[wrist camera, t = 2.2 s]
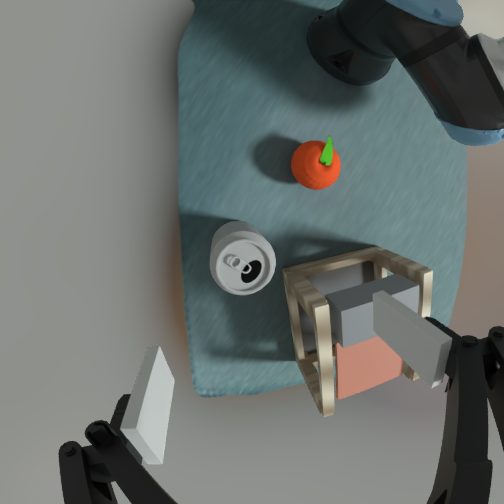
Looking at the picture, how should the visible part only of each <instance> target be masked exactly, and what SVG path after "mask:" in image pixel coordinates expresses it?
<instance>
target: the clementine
mask: <svg viewBox="0 0 504 504" xmlns="http://www.w3.org/2000/svg"><path fill="white" fill-rule="evenodd" d="M340 168H341V165H340V159H339V156H338V154H337V152H336V151H335V150H334V149H333V143H332V139H331V137H330V136H328V140H327V143H325V142H322V141H308V142H305V143H303V144H302V145H300V146H299V147H298V148H297V149H296V150H295V152H294V154H293V156H292V160H291V170H292V172H293V175H294V177H295V178H296V180H297V181H298V182H299V183H300V184H301V185H303V186H305V187H307V188H310V189H314V190H317V189H323V188H326V187H329V186H330V185H332V184H333V183H334V182H335V181H336V179H337V177H338V175H339V173H340Z"/></svg>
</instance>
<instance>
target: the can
mask: <svg viewBox="0 0 504 504" xmlns="http://www.w3.org/2000/svg"><path fill="white" fill-rule="evenodd" d="M209 265H210V271H211V275H212V277H213V279H214V280H215V282H216V284H218V285H219V286H220V287H221V288H222V289H223V290H225V291H227V292H229V293H231V294H236V295H248V294H253V293H255V292H257V291H259V290H261V289H262V288H263V287H265V286H266V285H267V284H268V283H269V281H270V280H271V278H272V276H273V274H274V271H275V266H276V259H275V253H274V251H273V249H272V247H271V245H270V243H269V242H268V241H267V240H266V239H265V238H264V237H263V236H262V235H261V234H260V233H259V232H258V231H257V230H256V229H255V228H254V227H253V226H252V225H250V224H248V223H246V222H242V221H233V222H228V223H226V224H224V225H222V226H221V227H220V228H219V229H218V230H217V231H216V232H215V234H214V236H213V238H212V243H211V252H210V263H209Z"/></svg>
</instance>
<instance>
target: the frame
mask: <svg viewBox="0 0 504 504" xmlns="http://www.w3.org/2000/svg"><path fill="white" fill-rule="evenodd" d="M387 270H389V271H391V272H392V273H394V274H397V273H398V274H400V275H402V276H404V277H405V278H407V279H409V280H411V281H413V282H415V283H417V284H418V285H419V304H418V314H419V315H420V316H421V317H423V318H424V317H426V316H427V317H430V309H431V296H432V278H433V270H430V269H429V268H428V267H425V266H423V265H421V264H419V263H416V262H414V261H412V260H409V259H407V258H405V257H403V256H400V255H398V254H395V253H393V252H391V251H388V250H386V249H383V248H381V247H379V246H373V247H369V248H365V249H361V250H357V251H353V252H349V253H345V254H341V255H337V256H333V257H328V258H324V259H320V260H316V261H312V262H307V263H303V264H299V265H295V266H290V267H286V268H282V274H283V280H284V286H285V292H286V298H287V305H288V311H289V317H290V324H291V330H292V337H293V344H294V351H295V357H296V362H297V364H298V367H299V369H300V371H301V373H302V375H303V377H304V380H305V382H306V384H307V386H308V388H309V390H310V393H311V395H312V397H313V399H314V401H315V403H316V405H317V408H318V410H319V412H320V413H322V415H323V417H327V416H330V415H333V414H334V379H333V361H335V344H333V345H332V340H331V326H330V313H329V304H328V303H327V300H326V299H325V295H326V294H329V293H333V292H336V291H340V290H344V289H347V288H351V287H354V286H358V285H361V284H364V283H368V282H371V281H374V280H378V279H381V278H384V277H387ZM315 366H318V371H319V373H318V372H317V370H316V368H315ZM403 373H404V374H405V375H406V377H408V378H410V379H411V380H412V381H414V380H416V379H418V378H420V376H419V375H418V374H417V373H416V372H415V371H414V370H413V369H412V368H411V367H410V366H409V365H408V364H407V363H406V362H405V361H404V365H403Z"/></svg>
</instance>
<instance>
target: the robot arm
mask: <svg viewBox="0 0 504 504" xmlns="http://www.w3.org/2000/svg"><path fill="white" fill-rule="evenodd" d="M462 20H463V10H462V8H461V6H460V5H459V4H458V0H343V1H342V2H341V3H340V5H339V6H337V7H334V8H332V9H330V10H328V11H326V12H324V13H322V14H320V15H319V16H318V17H316V18H315V20H314V21H313V23H312V24H311V26H310V27H309V30H308V33H307V41H308V46H309V49H310V51H311V53H312V55H313V57H314V58H315V59H316V61H317V62H318V63H319V64H320V65H321V66H322V67H323V68H324V69H325V70H326V71H327V72H328V73H330V74H331V75H333V76H334V77H336V78H338V79H339V80H342V81H344V82H347V83H350V84H354V85H368V84H372V83H374V82H376V81H378V80H379V79H381V78H383V77H384V76H385V75H386V74H387V73H388V71H389V69H390V67H391V64H392V63H393V61H394V60H395V58H397V59H398V60H399V61H400V63H401V64H402V65H403V67H404V68H405V69H406V71H407V72H408V73H409V75H410V76H411V78H412V79H413V80H414V82H415V83H416V85H417V86H418V88H419V89H420V91H421V92H422V94H423V95H424V97H425V98H426V100H427V101H428V103H429V104H430V106H431V108H432V109H433V111H434V114H435V116H436V118H437V119H438V120H439V121H440V122H441V123H442V125H443V126H444V128H445V130H446V131H447V133H448V134H449V136H450V137H451V138H452V139H454V140H456V141H457V142H459V143H462V144H465V145H470V146H485V145H491V144H495V143H498V142H501V140H502V139H503V138H504V37H503V38H500V39H493V38H491V37H488V36H486V35H484V34H482V33H479V34H477V35H474V36H472V37H469V36H468V35H467V33H466V31H465V30H464V29H463V27H462V26H461V25H460V24H461V22H462ZM373 331H374V332H375V333H376V334H377V335H378V336H379V337H380V338H381V339H382V340H383V341H384V342H385V343H386V344H387V345H388V346H389V347H390V348H391V349H392V350H393V351H395V352H396V353H397V354H398V355H399V356H400V357H401V358H402V359H403V360H404V361H405V362H406V363H407V364H408V365H409V366H410V367H411V368H412V369H413V370H414V371H415V372H416V373H417V374H418V375H419V376H420V377H421V378H422V379H423V380H424V381H425V382H426V383H427V384H428V385H429V386H430V387H431V388H433V387H435V386H437V385H438V384H440V383H442V382H443V378H444V374H447V375H448V376H449V379H448V383H447V386H446V390H445V392H447V404H446V416H445V425H444V433H443V440H442V447H441V453H440V458H439V464H438V469H437V474H436V478H435V482H434V486H433V490H432V493H431V495H430V497H429V499H428V502H427V504H488V501H489V494H490V487H491V479H492V467H493V466H492V461H491V460H488V458H487V454H488V406H487V398H488V400H489V403H490V406H491V409H492V412H493V415H494V418H495V421H496V425H497V428H498V431H499V435H500V439H501V443H502V446H503V451H504V327H500V326H496V327H493V328H491V329H490V330H489V334H488V337H486V338H483V339H477V338H476V337H474V336H469V335H467V336H462V337H461V336H459V335H458V334H456V333H455V332H453V331H452V330H451V329H449V328H448V327H445V325H443V324H441V323H440V322H439V321H437V320H436V319H434V318H431V317H427V316H426V317H424V318H423V317H421V316H420V315H419V314H417V313H416V312H414V311H413V310H411V309H410V308H408V307H407V306H405V305H404V304H403V303H401V302H400V301H398V300H397V299H395V298H394V297H392V296H391V295H389V294H388V293H386V292H385V291H383V290H382V291H379V292H376V293H373ZM174 382H175V380H174V378H173V376H172V374H171V372H170V369H169V367H168V365H167V362H166V360H165V358H164V355H163V353H162V350H161V348H160V346H154V347H149V348H147V351H146V354H145V356H144V359H143V362H142V365H141V367H140V370H139V373H138V376H137V379H136V381H135V384H134V388H133V390H132V393H131V394H126V395H125V394H124V395H123V396H122V397H121V398H120V400H119V401H118V403H117V406H116V409H115V411H114V415H113V417H112V419H111V422H110V424H109V423H108V422H107V421H103V420H100V421H95V422H93V423H91V424H90V425H89V426H88V427H87V428H86V431H85V437H86V438H87V439H88V440H89V442H90V443H91V444H92V445H90V446H85V447H81V446H80V444H78V443H77V442H75V441H69V442H66V443H64V444H63V445H62V446H61V447H60V449H59V466H60V475H61V483H62V491H63V497H64V502H65V504H118V503H117V500H116V497H115V494H114V491H113V488H112V485H111V482H113V481H116V483H117V484H118V486H119V487H120V488H121V490H122V491H123V493H124V494H125V495H126V497H127V498H128V499H129V501H130V502H131V503H132V504H178V503H176V502H175V501H174V500H173V499H172V498H171V497H170V496H169V495H168V493H167V492H165V490H164V489H163V488H162V487H161V486H160V485H159V484H158V483H157V482H156V481H155V480H154V479H153V478H152V476H151V475H150V474H149V473H148V472H147V471H146V470H145V468H144V467H143V466H142V465H141V463H142V458H143V459H144V460H145V462H146V463H147V464H163V457H164V450H165V441H166V434H167V427H168V420H169V413H170V406H171V400H172V394H173V388H174Z"/></svg>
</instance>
